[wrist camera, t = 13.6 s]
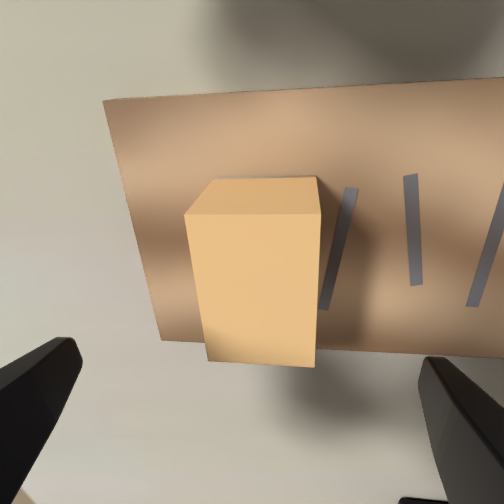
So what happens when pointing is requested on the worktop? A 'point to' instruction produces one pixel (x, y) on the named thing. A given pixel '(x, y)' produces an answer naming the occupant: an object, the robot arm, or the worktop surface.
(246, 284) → the block
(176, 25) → the worktop surface
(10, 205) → the worktop surface
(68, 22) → the worktop surface
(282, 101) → the board
